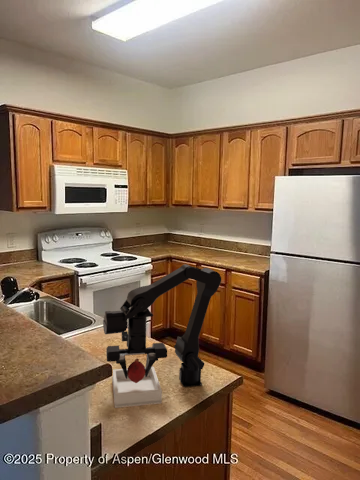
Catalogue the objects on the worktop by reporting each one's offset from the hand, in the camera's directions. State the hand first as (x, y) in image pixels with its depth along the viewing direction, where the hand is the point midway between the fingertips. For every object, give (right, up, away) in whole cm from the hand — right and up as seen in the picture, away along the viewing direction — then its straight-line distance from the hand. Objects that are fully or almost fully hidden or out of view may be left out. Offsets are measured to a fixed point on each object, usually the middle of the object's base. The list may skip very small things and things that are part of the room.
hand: (136, 377), depth 116 cm
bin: (0, -5, +1) cm, 5 cm away
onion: (0, -2, 0) cm, 2 cm away
